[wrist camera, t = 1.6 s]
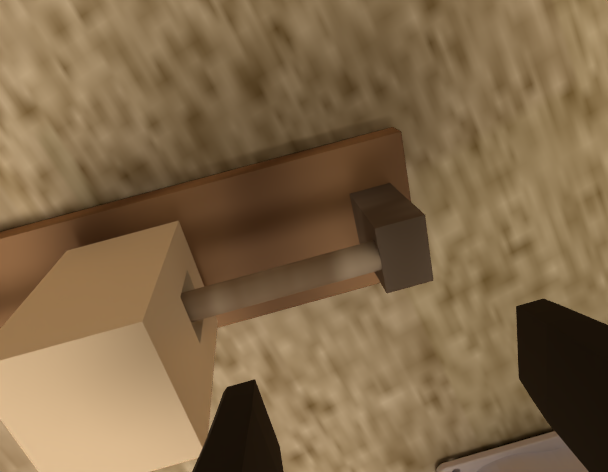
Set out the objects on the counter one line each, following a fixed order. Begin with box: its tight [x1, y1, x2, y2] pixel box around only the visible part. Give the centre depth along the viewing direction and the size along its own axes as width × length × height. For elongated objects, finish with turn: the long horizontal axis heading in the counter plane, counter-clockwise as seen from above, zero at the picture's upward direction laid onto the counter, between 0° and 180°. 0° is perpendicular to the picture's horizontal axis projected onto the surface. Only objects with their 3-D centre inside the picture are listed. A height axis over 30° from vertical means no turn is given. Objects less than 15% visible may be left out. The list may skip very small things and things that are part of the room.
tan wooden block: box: [0, 221, 218, 472], centre depth 13 cm, size 4×4×6 cm
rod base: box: [0, 127, 433, 328], centre depth 15 cm, size 24×6×6 cm, turn 103°
